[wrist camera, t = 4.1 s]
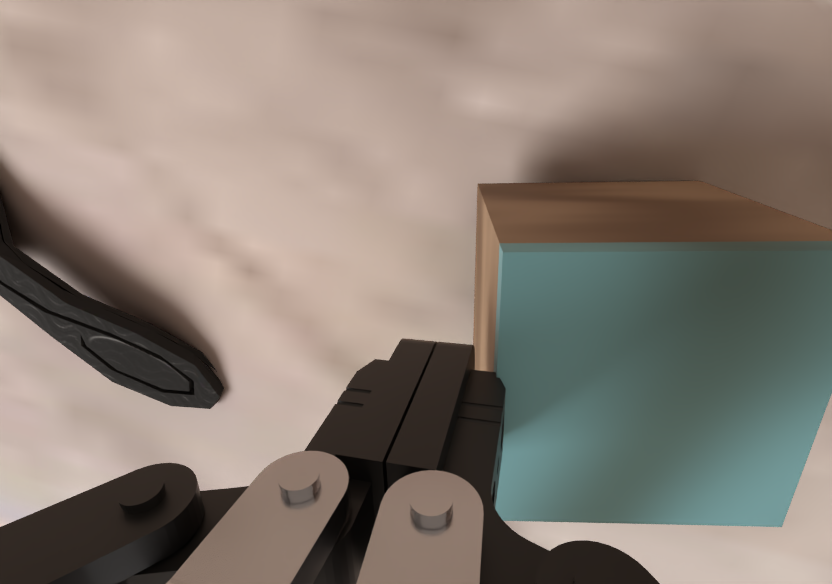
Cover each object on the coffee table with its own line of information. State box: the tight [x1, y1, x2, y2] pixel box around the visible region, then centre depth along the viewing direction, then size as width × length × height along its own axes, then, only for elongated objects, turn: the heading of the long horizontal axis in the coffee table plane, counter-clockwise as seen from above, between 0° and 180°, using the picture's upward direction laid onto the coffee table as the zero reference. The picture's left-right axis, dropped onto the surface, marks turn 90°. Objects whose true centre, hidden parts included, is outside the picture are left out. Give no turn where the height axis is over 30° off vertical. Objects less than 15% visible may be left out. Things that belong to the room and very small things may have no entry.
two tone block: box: [473, 181, 832, 527], centre depth 12 cm, size 6×6×6 cm
